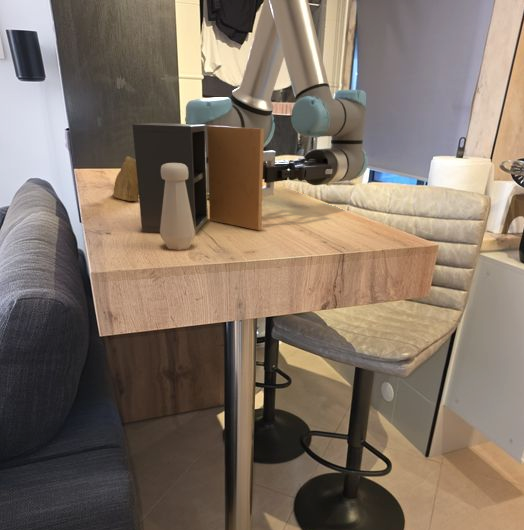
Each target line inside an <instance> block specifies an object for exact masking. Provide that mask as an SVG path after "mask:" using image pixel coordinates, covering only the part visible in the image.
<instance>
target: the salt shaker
mask: <svg viewBox="0 0 524 530" xmlns="http://www.w3.org/2000/svg"><path fill="white" fill-rule="evenodd" d="M161 177H162V179H164V180H165V188H164V198H163V207H162V216H161V226H160V233H159V234H160V237H161V239H162V241H163V242H164V244H165V246H166V248H167V249H169V250H176V251H181V250H187V249H190V248H191V246H192V243H193V241H194V239H195V236H196V234H195V229H194V224H193V219H192V214H191V209H190V204H189V199H188V194H187V189H186V184H185V180H186V179H188V168H187V166H186V165H185V164H182V163H166V164H163V165H162V166H161Z"/></svg>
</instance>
